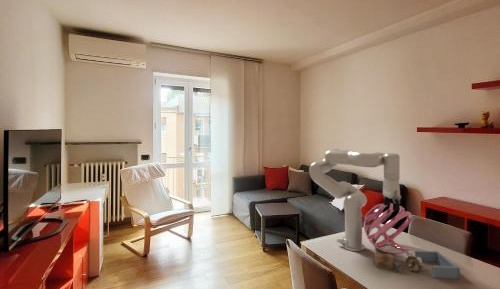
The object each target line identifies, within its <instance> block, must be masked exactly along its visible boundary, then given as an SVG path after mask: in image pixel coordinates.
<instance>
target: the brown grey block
mask: <svg viewBox="0 0 500 289" xmlns="http://www.w3.org/2000/svg"><path fill="white" fill-rule="evenodd" d="M373 257H374V258H373V259H374V261H373V262H374V264H373V265H374V266H375V268H379V269H381V268H382V269H393V270H394V271H395V272H396V273H397V274H398V273H399V274H400V273H402V264H401V263H400V261H399V260H397V259H396V257H395V256H394V254H388V253H378V252H377V253H374V256H373Z"/></svg>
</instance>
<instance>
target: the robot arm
mask: <svg viewBox="0 0 500 289" xmlns="http://www.w3.org/2000/svg"><path fill="white" fill-rule="evenodd" d="M400 164H401V161H400V154H398V153H394V152H393V153H392V152H391V153H389V152H388V153H385V152H378V151H377V152H372V153H365V152H364V153H363V152H355V151H353V150H349V149H348V150H345V149H343V150H341V149H339V148H332V149H329V150H327V151H326V152H325V153H324V158H323V159H322V160H317V161H314V162H312V163H311V164H310V166H309V168H308V172H309V176H310V178H311V180H312V181H313V182H314V183H315V184H316V185H317V186H319V187H321V188H322V189H323V190H324V191H326V192H327V193H329V195H331V196H332V197H334V198H335V199H337V200H338V199H339V200H340V199H343V198H344V200H343V208H344V237H343V238H341V239H340V238H337V239H336V243H339V244H340V245H341V246H342V247H343V249H345V250H348V251H351V252H362V251H364V250H366V246H365V244H364V243H363V213H362V208H363V207H365V206H366V204H367V202H368V199H367V196H366V194H365V193H363V191H361V190H359V189H358V188H356V186H354V185H352V184H351V183H349V182H347V181H344V180H343V181H339V182H338V181H336V180H335V179H333V177H331V176H329V175H327V174H326V173H328V172H330V171H331V170H332V169H333V168H335V167H336V166H337V165H345V166H346V165H349V166H353V167H354V166H355V167H363V168H377V167H380V166H381V167H382V166H383V180H382V181H383V183H382V195H383V204H384V205H385V206H386V207H388V206H389V207H390V203H391V199H392V204H393V212H396V211H398V212H399V211H400V206H401V205H400V204H401V199H402V195H401V190H400V189H401V188H400V186H401V185H400V177H401V176H400V175H401V174H400V169H401V168H400Z"/></svg>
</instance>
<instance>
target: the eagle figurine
mask: <svg viewBox="0 0 500 289" xmlns="http://www.w3.org/2000/svg"><path fill="white" fill-rule="evenodd" d="M406 255H407V258H406V260H405V264H408V266H407V267H408V268H409V267H411V268H410V269H409V271H410V272H411V273H414V274H418V273H420V272H421V270H422V269H421V268H422V266H421V264H422V263H423V261H422V259H421V258H420V257H416V258H415V255H414V256H413V255H409V254H408V253H407V254H406Z"/></svg>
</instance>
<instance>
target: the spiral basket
mask: <svg viewBox="0 0 500 289" xmlns="http://www.w3.org/2000/svg"><path fill="white" fill-rule="evenodd" d="M386 207H387V206H385V205H384V203H378V204H376V205H375V206H373V207H371V209H369V210H368V211H367V212H366V214H365V215H364V221H363V230H364V233H365V236H366V238H367V240H368V241H369V243H370V244H371V245H372V246H373V247H374V248H376V249H377V250H379V251H380V252H383V253H384V254H392V255H401V254H404V253H406V252H408V251H410V249H409V248H404V247H402V246H401V245H400V244H398V243H397V242H396V241H395V240H394V239H395V238H396V237H398V236H399V235H400V234H401V233H402V232H404V230H406V228H408V227H409V225H410V224H411V223H412V220H413V218H414V216H413V214H412V213H411V212H410V211H406V210H405V208H404V207H403V206H401V205H400V210H399V211H398V213H397V214H396V215H395V216H394V217H392V218H391V219H389V220H388V221H386V220H387V219H388V218H389V217H390V216H391V215H392V214H393V212H394V211H393V202H392V203H391V202H390V206H389V208H388V209H386V210H385V211H384V209H385V208H386ZM405 217H406V220H405V221H404V222H403V223H402V224H401V226H399V227H398V228H397V229H396V230H395V231H394V232H392V233H391V234H390V235H388V234H387V232H388V231H389V230H391V229H392V228H393V227H394V226H395V225H396V224H397V223H398V222H399V221H400V220H403V219H404V218H405ZM370 221H371V223H370V224H369V225H367V224H368V223H369V222H370ZM385 221H386V222H385ZM384 222H385V223H384ZM383 223H384V224H383ZM382 224H383V225H382ZM381 225H382V226H381ZM375 228H376V229H377V231H376V232H375V233H373V234H370V233H371V232H372V230H373V229H375ZM381 236H382V237H383V238H384V239H383V240H381V241H379V242H378V240H379V238H380V237H381ZM388 243H389V244H391V245H392V246H394V247H395V248H397V249H399V250H401V251H397V252H396V251H395V252H392V251H387V250H384V249H382V248H380V247H382V246H385V245H386V244H388Z"/></svg>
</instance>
